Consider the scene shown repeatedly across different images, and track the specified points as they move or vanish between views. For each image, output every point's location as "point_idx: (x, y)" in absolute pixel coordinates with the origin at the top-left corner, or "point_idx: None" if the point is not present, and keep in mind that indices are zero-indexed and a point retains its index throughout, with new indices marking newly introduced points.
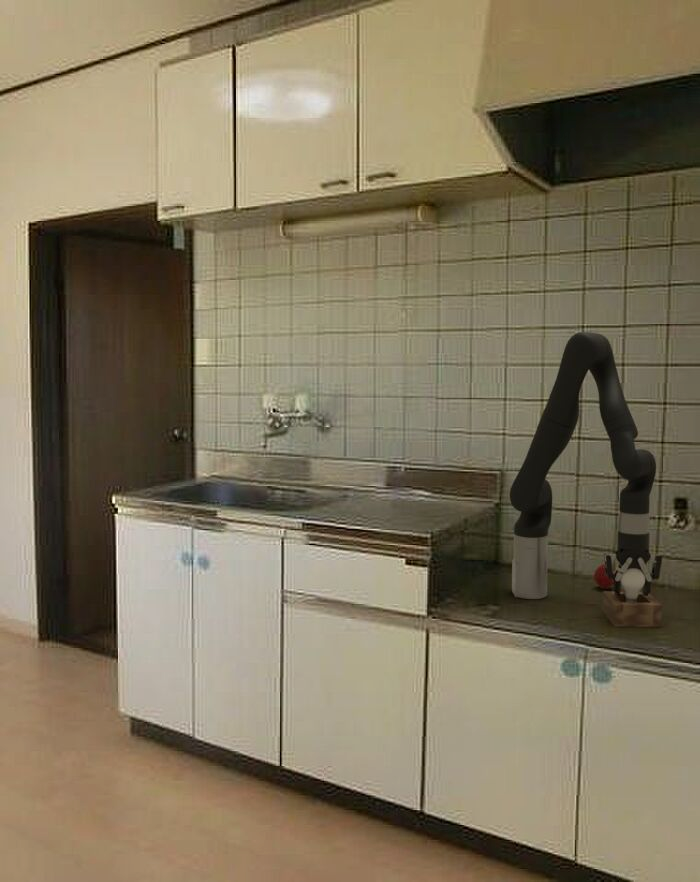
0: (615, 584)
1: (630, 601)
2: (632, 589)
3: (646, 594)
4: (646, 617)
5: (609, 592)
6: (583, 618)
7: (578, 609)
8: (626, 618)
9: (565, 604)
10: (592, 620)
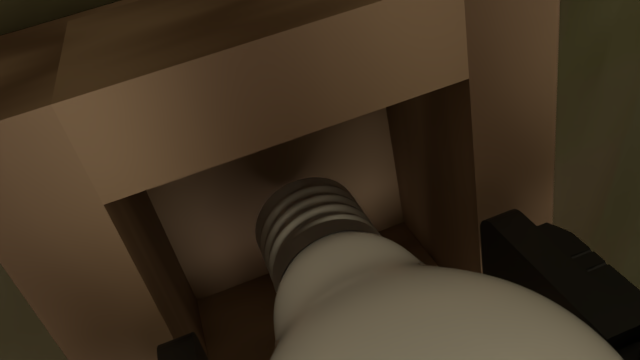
0: (625, 292)
1: (341, 212)
2: (399, 270)
3: (177, 344)
4: (139, 21)
5: None
6: (607, 52)
7: (586, 222)
8: None
9: (629, 273)
10: (559, 27)
